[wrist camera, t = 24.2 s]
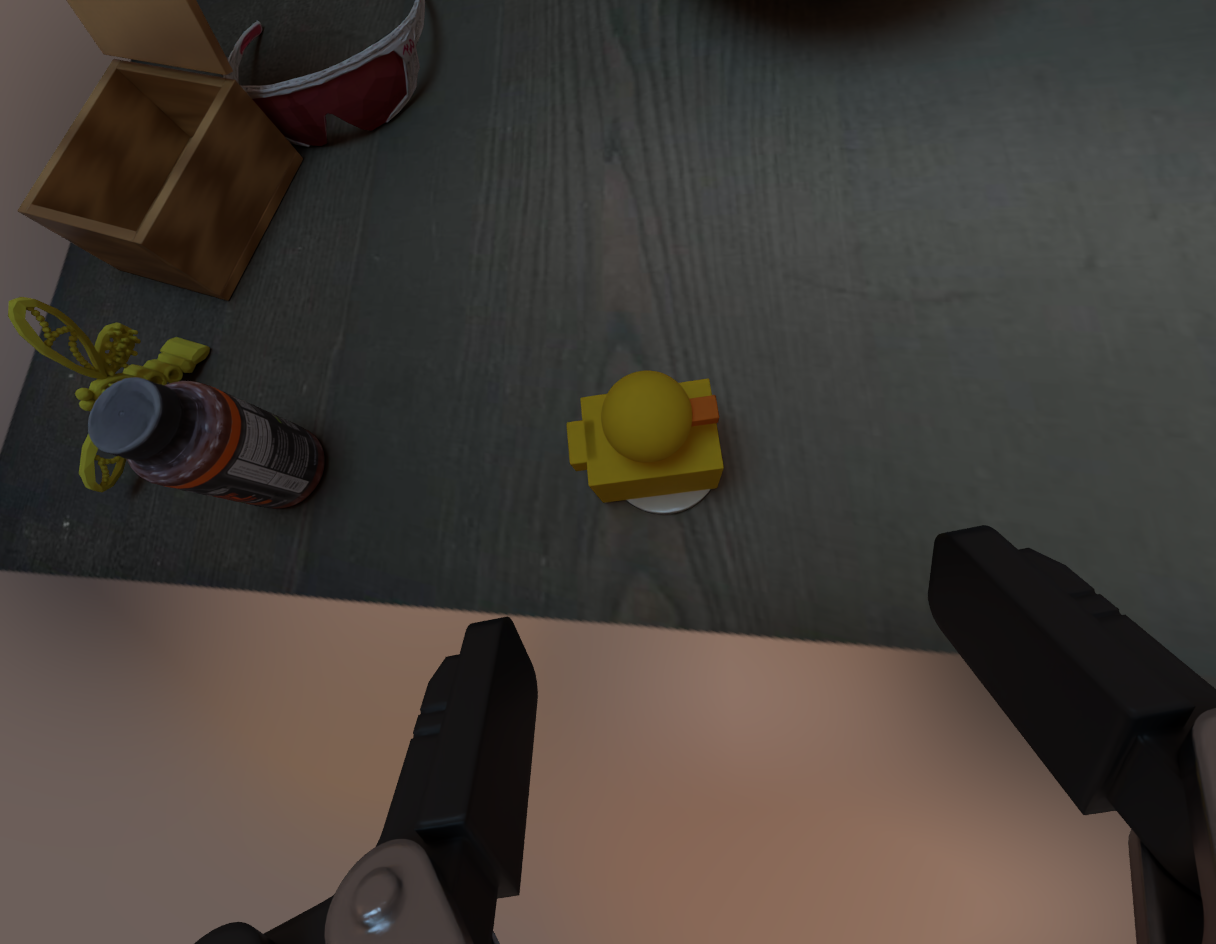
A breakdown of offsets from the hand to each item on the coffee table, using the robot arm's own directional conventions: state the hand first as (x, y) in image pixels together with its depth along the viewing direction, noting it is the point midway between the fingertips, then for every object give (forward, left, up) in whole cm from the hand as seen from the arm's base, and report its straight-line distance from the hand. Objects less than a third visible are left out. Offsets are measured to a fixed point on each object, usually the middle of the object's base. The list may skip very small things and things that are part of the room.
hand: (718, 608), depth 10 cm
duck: (+7, +5, -20) cm, 22 cm away
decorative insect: (0, +41, -21) cm, 46 cm away
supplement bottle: (-1, +29, -21) cm, 36 cm away
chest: (+17, +46, -21) cm, 53 cm away
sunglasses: (+33, +41, -21) cm, 57 cm away
